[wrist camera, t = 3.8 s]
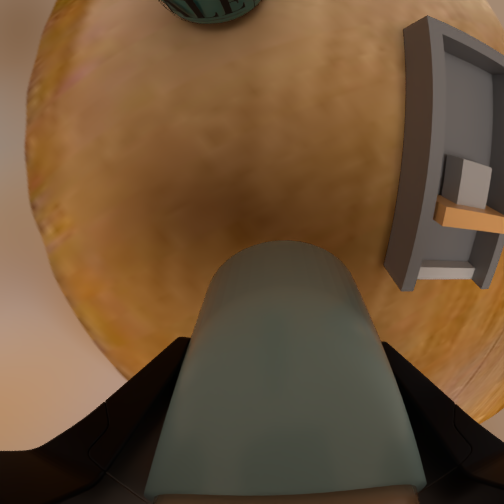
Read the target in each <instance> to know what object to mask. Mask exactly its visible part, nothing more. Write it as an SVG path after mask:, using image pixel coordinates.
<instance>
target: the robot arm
mask: <svg viewBox="0 0 504 504" xmlns="http://www.w3.org/2000/svg"><path fill="white" fill-rule="evenodd" d="M190 339H191V338H188V337H178V338H177V339H176V340H175V341H173V342H172V343H171V344H170V345H169V346H168V347H167V348H165V349H164V350H163V351H162V352H161V353H160V354H159V355H157V356H156V357H155V358H154V359H153V360H152V361H151V362H149V363H148V364H147V365H146V366H145V367H144V368H143V369H141V370H140V371H139V372H138V373H137V374H136V375H135V376H133V377H132V378H131V379H130V380H129V381H128V382H126V383H125V384H124V385H123V386H122V387H121V388H120V389H119V390H117V391H116V392H115V393H114V394H113V395H111V396H110V397H109V398H108V399H107V400H106V401H105V402H106V403H105V402H103V403H102V404H101V405H100V406H98V407H97V408H96V409H95V410H94V411H92V412H91V413H90V414H89V415H87V416H86V417H85V418H84V419H82V420H81V421H79V422H78V423H76V424H75V425H74V426H72V427H71V428H69V429H68V430H66V431H65V432H63V433H62V434H60V435H58V436H57V437H55V438H53V439H52V440H50V441H49V442H47V443H46V444H44V445H42V446H40V447H38V448H35V449H32V450H26V451H0V504H153V503H152V502H150V501H149V500H147V499H146V498H145V496H144V491H145V487H146V483H147V480H148V476H149V473H150V469H151V465H152V462H153V458H154V455H155V451H156V448H157V445H158V441H159V438H160V434H161V431H162V428H163V424H164V421H165V418H166V414H167V411H168V408H169V405H170V401H171V398H172V395H173V392H174V389H175V385H176V382H177V379H178V376H179V373H180V370H181V367H182V364H183V361H184V358H185V354H186V351H187V348H188V345H189V342H190ZM381 343H382V345H383V348H384V350H385V353H386V356H387V358H388V361H389V363H390V366H391V369H392V371H393V374H394V377H395V379H396V382H397V385H398V388H399V391H400V393H401V396H402V399H403V402H404V405H405V408H406V411H407V414H408V417H409V421H410V424H411V427H412V430H413V434H414V437H415V440H416V444H417V447H418V451H419V455H420V458H421V462H422V466H423V470H424V474H425V478H426V482H427V484H426V486H425V487H424V488H423V489H422V490H421V491H419V492H418V497H419V502H420V504H504V442H502V441H501V440H500V439H498V438H497V437H496V436H494V435H493V434H491V433H490V432H489V431H488V430H486V429H485V428H484V427H482V426H481V425H480V424H479V423H477V422H476V421H475V420H473V419H472V418H471V417H470V416H469V415H468V414H467V413H465V412H464V411H463V410H462V409H461V408H460V407H459V406H458V405H456V404H455V403H454V402H453V401H452V400H451V399H450V398H449V397H448V396H447V395H445V394H444V393H443V392H442V391H441V390H440V389H439V388H438V387H437V386H435V385H434V384H433V383H432V382H431V381H430V380H429V379H428V378H427V377H425V376H424V375H423V374H422V373H421V372H420V371H419V370H418V369H416V368H415V367H414V366H413V365H412V364H411V363H410V362H409V361H407V360H406V359H405V358H404V357H403V356H402V355H401V354H399V353H398V352H397V351H396V350H395V349H394V348H393V347H392V346H390V345H389V344H388V343H387V342H381Z"/></svg>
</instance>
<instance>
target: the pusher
mask: <svg viewBox="0 0 504 504" xmlns="http://www.w3.org/2000/svg"><path fill="white" fill-rule="evenodd" d="M491 172H492V168H491V167H488V166H485V165H482V164H479V163H476V162H473V161H469V160H466V159H463V158H459V157H456V156H452V155H448V154H447V161H446V169H445V176H444V183H443V189H442V195H437V200H436V205H435V210H434V215H433V220H435V221H436V222H437V223H439V224H440V225H441V226H445V227H454V228H462V229H471V230H479V231H486V232H494V233H501V234H504V215H503V214H501V213H499V212H497V211H496V210H494V209H492V208H490V207H489V206H487V205H486V202H487V197H488V191H489V186H490V179H491Z"/></svg>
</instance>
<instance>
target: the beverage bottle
mask: <svg viewBox="0 0 504 504" xmlns="http://www.w3.org/2000/svg"><path fill="white" fill-rule="evenodd" d="M159 1H160V0H159ZM162 1H163V3H165V4H166V5H167V6H168V7H169V9H170V10H171V12H173V13H175V14H177V15H178V16H180V17H182V18H184V19H186V20H189V21H193V22H192V23H194V22H197V23H201V24H211V23H222V22H226V21H230V20H233V19H236V18H238V17H240V16H242V15H244V14H246V13H247V12H249V11H250V10H252V9H253V8H255V7H256V6H257V4H258V3H259V2H260V0H162ZM162 1H161V2H162ZM163 3H161V4H163ZM163 6H164V5H163ZM164 7H165V6H164ZM165 8H166V7H165ZM166 9H167V8H166ZM167 10H168V9H167ZM170 10H169V12H170ZM173 13H171V14H173ZM175 14H174V15H175ZM182 20H183V19H182ZM189 21H188V22H189Z"/></svg>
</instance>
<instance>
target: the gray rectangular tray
mask: <svg viewBox="0 0 504 504" xmlns="http://www.w3.org/2000/svg"><path fill="white" fill-rule="evenodd" d="M403 32H404V45H405V64H406V110H405V130H404V144H403V155H402V165H401V173H400V181H399V188H398V195H397V202H396V208H395V214H394V219H393V225H392V230H391V235H390V240H389V244H388V249H387V254H386V258H385V262H384V267H385V268H386V270H387V271H388V273H389V274H390V276H391V277H392V278H393V280H394V281H395V283H396V284H397V286H398V287H399V289H400V291H413V290H414V287H415V284H416V281H417V279H472V280H473V281H474V282H475V283H476V284H477V285H478V286H479V287H480V288H481V289H488V288H489V286H490V283H491V281H492V278H493V275H494V273H495V270H496V267H497V264H498V261H499V258H500V255H501V252H502V249H503V246H504V234H501V233H494V232H486V231H479V230H471V229H462V228H454V227H445V226H441V225H440V224H439V223H437V222H436V221H435V220H433V215H434V210H435V205H436V200H437V195H442V189H443V183H444V176H445V169H446V161H447V154H448V155H452V156H456V157H459V158H463V159H466V160H469V161H473V162H476V163H479V164H482V165H485V166H488V167H491V168H492V172H491V179H490V186H489V191H488V197H487V202H486V205H487V206H489V207H490V208H492V209H494V210H496V211H497V212H499V213H501V214H503V215H504V55H502V54H501V53H499V52H497V51H496V50H494V49H493V48H491V47H489V46H488V45H486V44H484V43H483V42H481V41H479V40H477V39H476V38H474V37H472V36H470V35H468V34H466V33H464V32H463V31H461V30H459V29H457V28H455V27H452V26H450V25H448V24H446V23H444V22H442V21H439V20H437V19H435V18H432V17H430V16H425V17H424V18H422V19H420V20H418V21H417V22H415V23H413V24H411V25H410V26H408V27H406V28H405V29H403Z"/></svg>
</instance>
